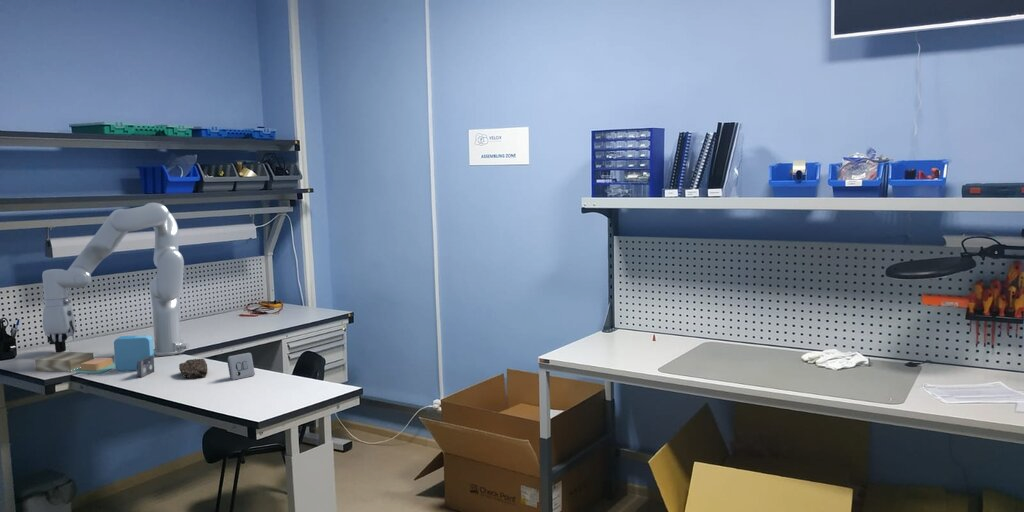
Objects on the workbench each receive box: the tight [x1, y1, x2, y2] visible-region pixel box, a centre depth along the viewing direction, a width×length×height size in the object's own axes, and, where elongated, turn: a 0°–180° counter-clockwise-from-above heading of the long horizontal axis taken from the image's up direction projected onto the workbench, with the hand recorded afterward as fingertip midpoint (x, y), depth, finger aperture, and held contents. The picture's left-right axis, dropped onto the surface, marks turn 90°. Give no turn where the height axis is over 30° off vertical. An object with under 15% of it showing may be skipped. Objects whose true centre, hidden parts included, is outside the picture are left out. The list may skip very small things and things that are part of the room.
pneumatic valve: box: [46, 331, 75, 353], centre depth 292 cm, size 6×12×12 cm, turn 4°
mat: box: [69, 361, 116, 374], centre depth 269 cm, size 12×15×1 cm
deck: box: [34, 351, 95, 372], centre depth 271 cm, size 14×12×4 cm
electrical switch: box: [226, 352, 256, 381], centre depth 256 cm, size 8×5×8 cm, turn 137°
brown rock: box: [178, 358, 209, 379], centre depth 259 cm, size 12×10×5 cm
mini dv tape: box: [136, 355, 155, 379], centre depth 259 cm, size 8×2×6 cm, turn 176°
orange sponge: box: [80, 357, 114, 371], centre depth 269 cm, size 6×9×2 cm, turn 173°
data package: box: [113, 334, 155, 372], centre depth 267 cm, size 12×4×12 cm, turn 101°
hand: (60, 351), depth 271 cm, fingers closed
